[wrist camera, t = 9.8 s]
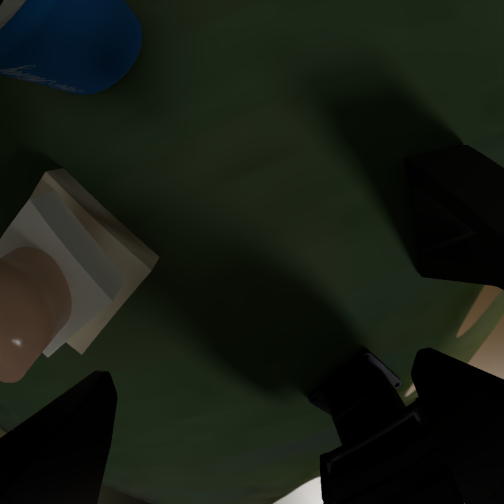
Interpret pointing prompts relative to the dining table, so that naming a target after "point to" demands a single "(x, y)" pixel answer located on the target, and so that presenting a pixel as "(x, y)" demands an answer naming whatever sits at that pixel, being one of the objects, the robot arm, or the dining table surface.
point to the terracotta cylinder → (29, 309)
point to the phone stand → (458, 215)
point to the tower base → (109, 239)
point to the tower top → (66, 258)
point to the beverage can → (68, 42)
